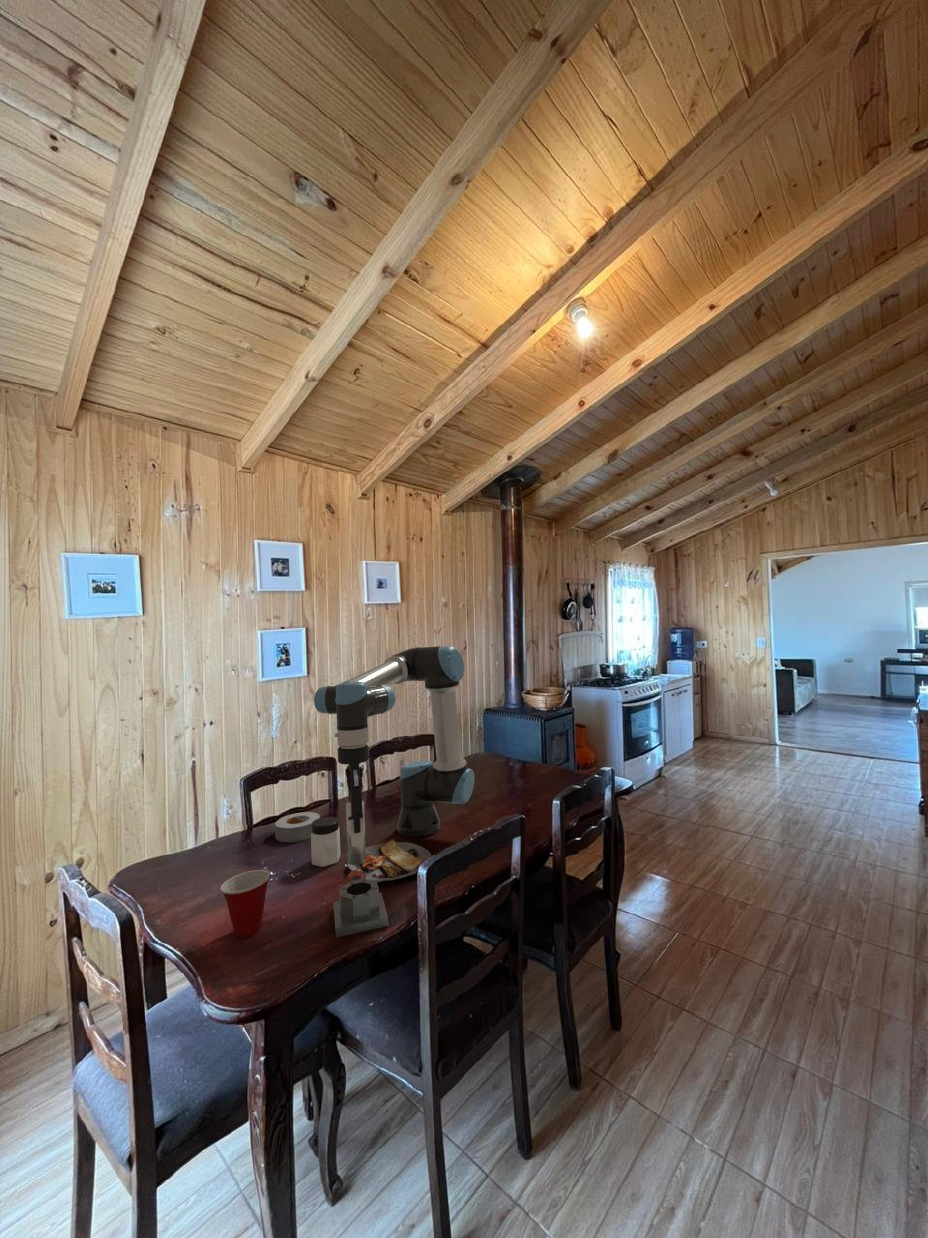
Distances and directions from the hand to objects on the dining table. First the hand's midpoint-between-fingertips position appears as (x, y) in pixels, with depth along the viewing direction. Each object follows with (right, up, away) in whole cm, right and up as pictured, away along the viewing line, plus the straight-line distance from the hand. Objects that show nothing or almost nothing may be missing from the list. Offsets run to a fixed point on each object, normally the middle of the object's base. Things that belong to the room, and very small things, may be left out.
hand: (356, 841), depth 119 cm
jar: (-16, -21, +32) cm, 41 cm away
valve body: (0, -18, +1) cm, 19 cm away
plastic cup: (-25, -20, -4) cm, 32 cm away
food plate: (+4, -20, +26) cm, 33 cm away
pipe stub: (0, -5, 0) cm, 5 cm away
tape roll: (-33, -23, +55) cm, 68 cm away
